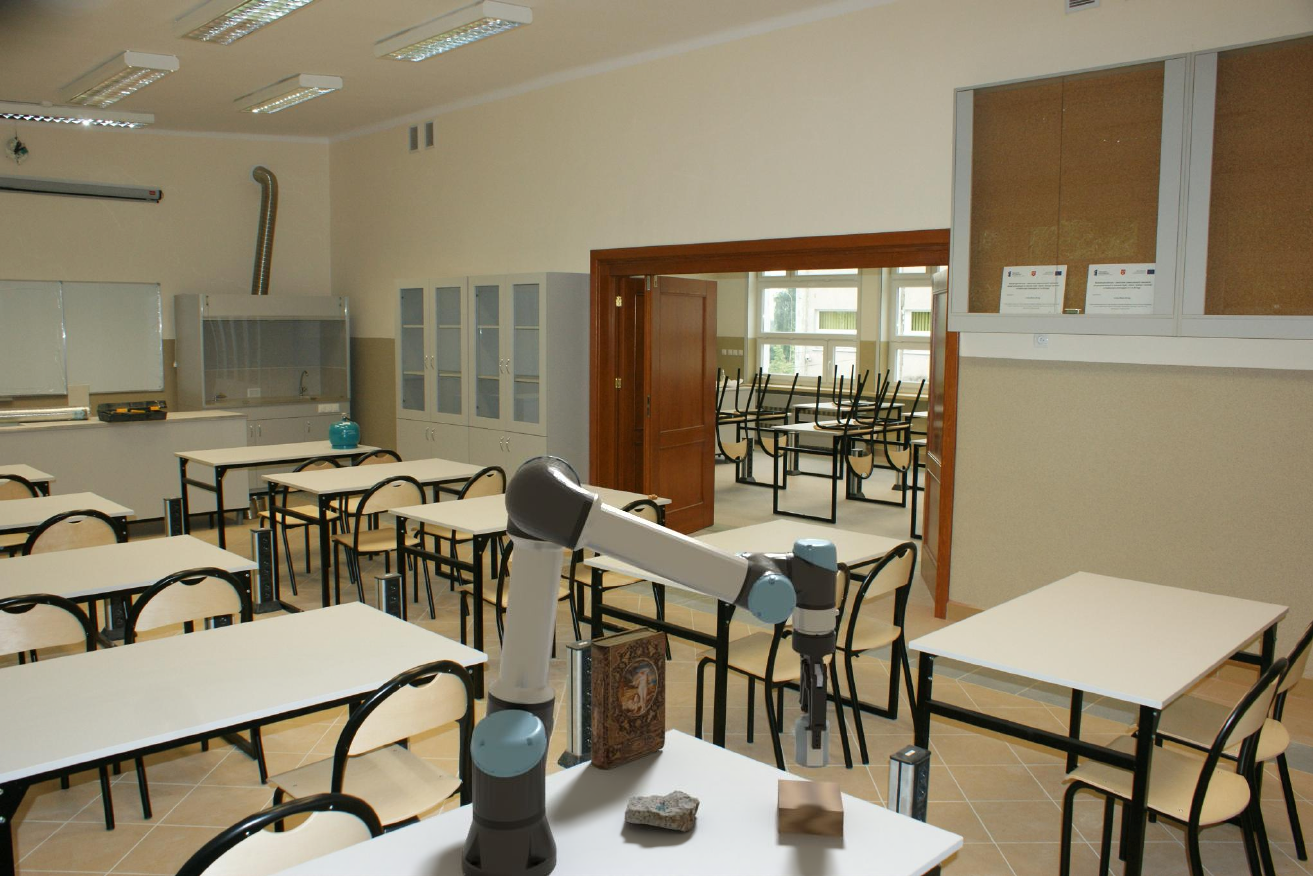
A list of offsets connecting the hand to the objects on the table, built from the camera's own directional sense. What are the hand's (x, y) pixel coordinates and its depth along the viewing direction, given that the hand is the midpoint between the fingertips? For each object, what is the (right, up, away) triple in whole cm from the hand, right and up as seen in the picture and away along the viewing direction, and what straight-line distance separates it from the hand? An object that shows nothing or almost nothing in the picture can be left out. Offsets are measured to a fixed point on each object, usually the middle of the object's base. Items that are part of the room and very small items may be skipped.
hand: (811, 756), depth 171 cm
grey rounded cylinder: (0, -1, 0) cm, 1 cm away
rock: (-26, -13, -4) cm, 29 cm away
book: (-33, -9, +28) cm, 44 cm away
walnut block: (0, -12, +1) cm, 12 cm away
